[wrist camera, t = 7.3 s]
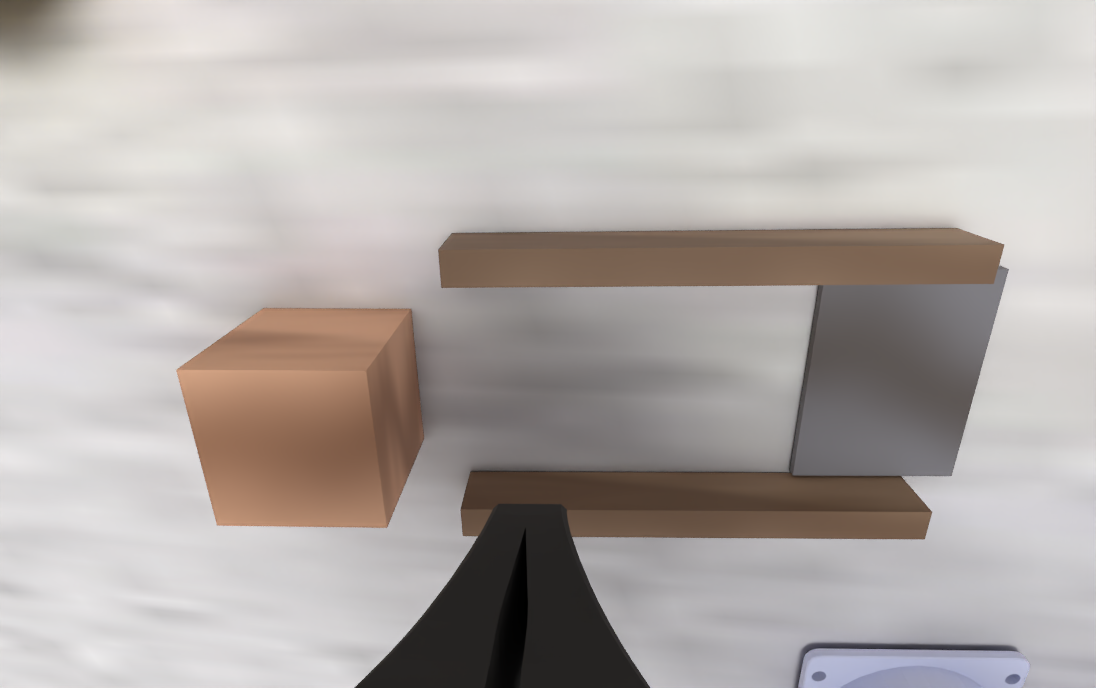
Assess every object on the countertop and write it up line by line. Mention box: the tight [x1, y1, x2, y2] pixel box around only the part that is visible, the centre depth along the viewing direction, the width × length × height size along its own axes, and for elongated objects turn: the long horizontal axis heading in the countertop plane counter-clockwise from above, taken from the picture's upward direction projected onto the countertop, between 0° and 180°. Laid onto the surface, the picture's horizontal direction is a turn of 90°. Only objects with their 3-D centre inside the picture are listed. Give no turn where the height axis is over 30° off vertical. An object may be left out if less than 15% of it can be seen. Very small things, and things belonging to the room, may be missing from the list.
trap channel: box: [438, 228, 1009, 539], centre depth 18 cm, size 9×16×2 cm, turn 91°
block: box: [176, 308, 424, 528], centre depth 17 cm, size 4×4×4 cm
